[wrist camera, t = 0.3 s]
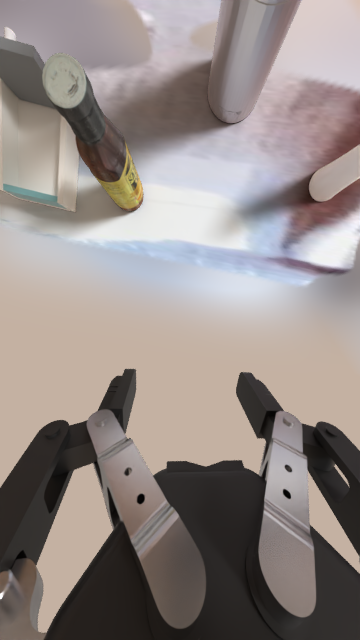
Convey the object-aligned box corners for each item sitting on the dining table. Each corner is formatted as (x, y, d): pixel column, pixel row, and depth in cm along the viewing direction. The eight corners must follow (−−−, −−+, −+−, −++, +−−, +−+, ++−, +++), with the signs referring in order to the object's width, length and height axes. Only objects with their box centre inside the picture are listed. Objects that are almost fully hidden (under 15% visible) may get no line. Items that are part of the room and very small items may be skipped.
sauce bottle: (148, 207, 35) (112, 119, 16) (120, 216, 35) (50, 141, 16) (138, 171, 34) (85, 25, 14) (108, 181, 34) (16, 51, 15)
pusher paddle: (19, 76, 29) (-37, 6, 22) (70, 90, 30) (33, 26, 22) (19, 99, 30) (-35, 38, 22) (69, 112, 30) (33, 57, 23)
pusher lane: (17, 86, 30) (-7, 57, 26) (82, 104, 31) (69, 78, 27) (17, 198, 34) (-3, 188, 31) (75, 212, 35) (62, 203, 31)
